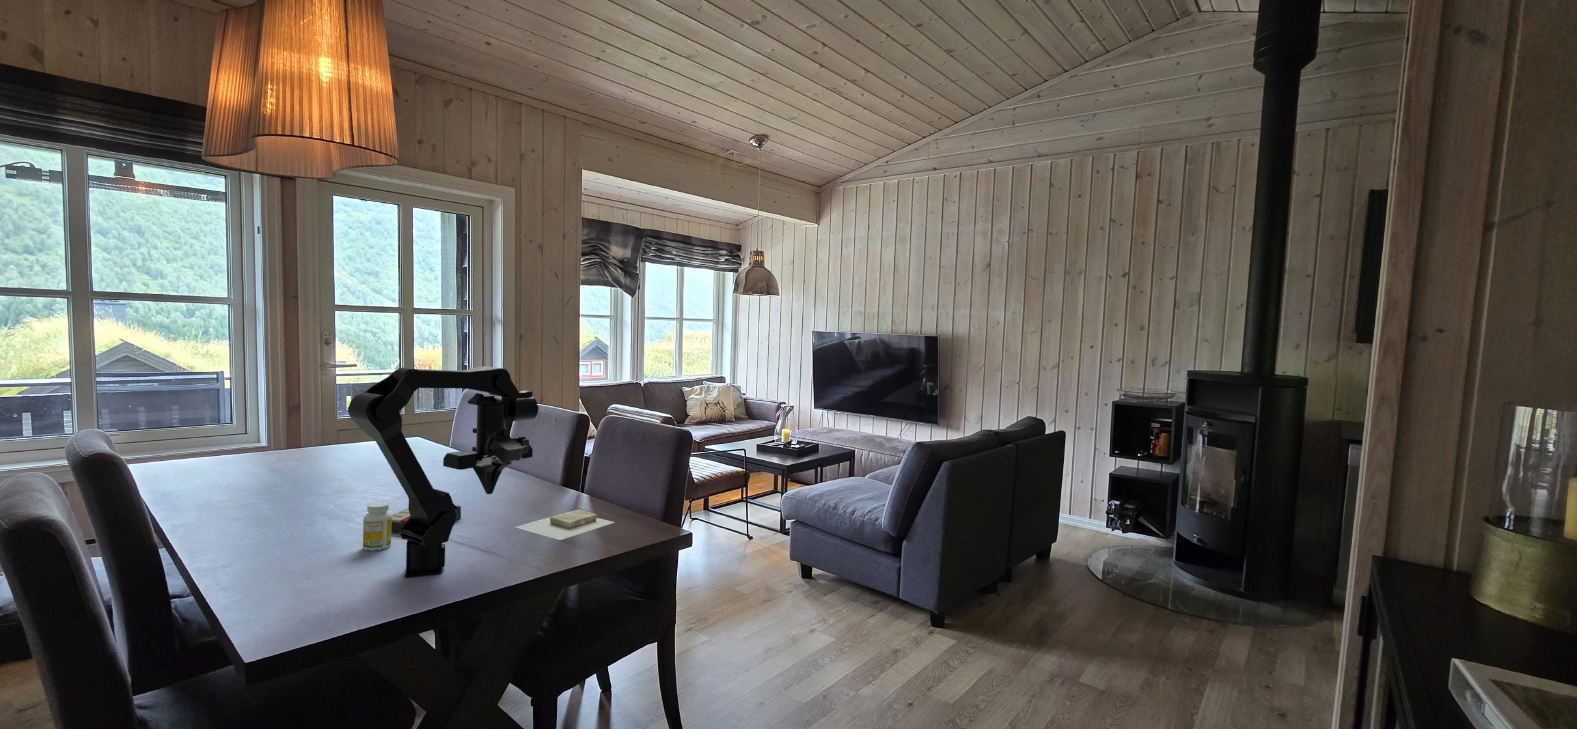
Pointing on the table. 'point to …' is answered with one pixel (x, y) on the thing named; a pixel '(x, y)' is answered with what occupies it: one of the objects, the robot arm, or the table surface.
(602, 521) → the mat
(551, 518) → the tile
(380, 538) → the supplement bottle
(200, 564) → the table surface
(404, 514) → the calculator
